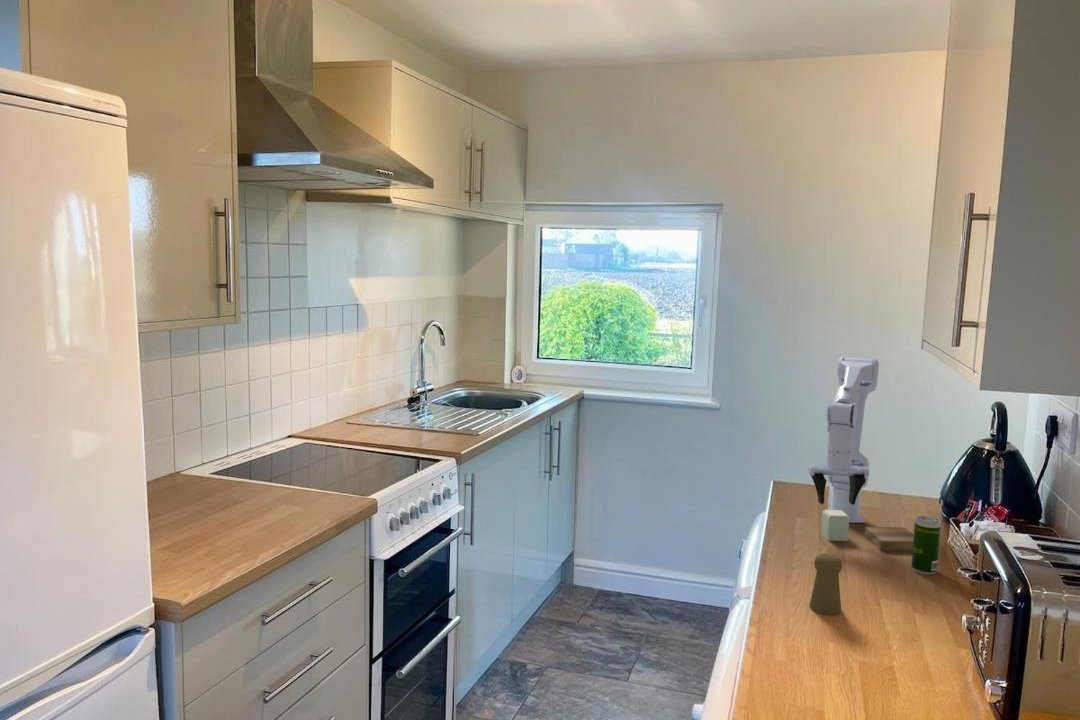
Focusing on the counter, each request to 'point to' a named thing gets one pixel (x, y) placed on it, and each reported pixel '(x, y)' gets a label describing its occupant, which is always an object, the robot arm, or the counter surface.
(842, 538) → the tea tin
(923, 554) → the beer can
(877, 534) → the walnut block
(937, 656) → the counter surface
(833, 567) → the olive pepper mill
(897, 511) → the counter surface
